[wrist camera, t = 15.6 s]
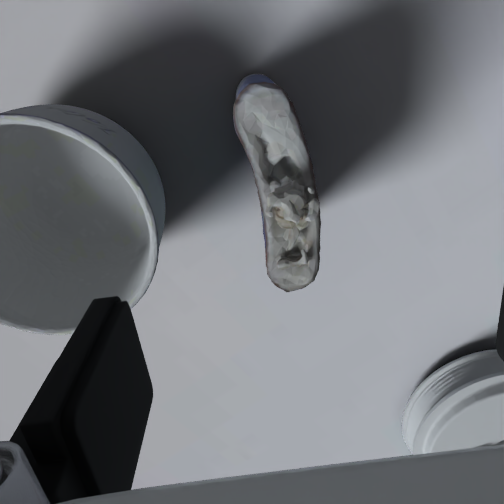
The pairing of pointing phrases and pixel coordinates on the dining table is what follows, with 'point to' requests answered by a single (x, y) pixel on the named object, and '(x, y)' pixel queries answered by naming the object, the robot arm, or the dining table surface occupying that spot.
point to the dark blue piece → (280, 180)
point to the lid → (457, 406)
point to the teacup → (73, 216)
